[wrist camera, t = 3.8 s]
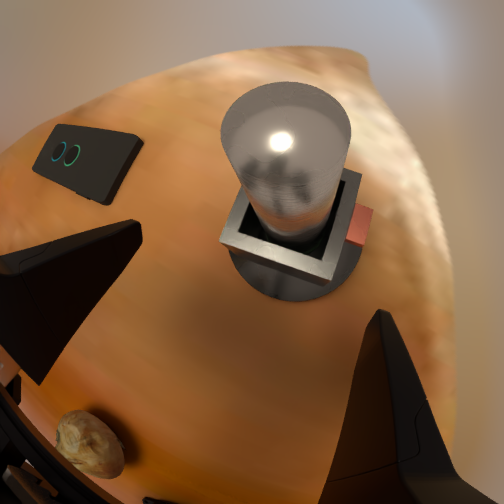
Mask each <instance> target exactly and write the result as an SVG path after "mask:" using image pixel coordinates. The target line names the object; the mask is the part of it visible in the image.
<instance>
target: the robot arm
mask: <svg viewBox="0 0 504 504" xmlns="http://www.w3.org/2000/svg"><path fill="white" fill-rule="evenodd" d="M142 242H143V237H142V229H141V224H140V222H138V221H136V220H133V219H129V220H125V221H121V222H118V223H114V224H110V225H106V226H102V227H99V228H95V229H92V230H88V231H84V232H81V233H77V234H74V235H71V236H67V237H64V238H61V239H57V240H54V241H53V242H52V241H51V242H48V243H44V244H41V245H38V246H35V247H31V248H27V249H24V250H20V251H16V252H13V253H9V254H5V255H1V256H0V504H124V503H122V502H121V501H119V500H118V499H116V498H115V497H113V496H112V495H110V494H109V493H108V492H106V491H105V490H104V489H102V488H101V487H99V486H98V485H97V484H96V483H94V482H93V481H92V480H90V479H89V478H88V477H87V476H86V475H84V474H83V473H82V472H81V471H80V470H78V469H77V468H76V467H75V466H74V465H73V464H72V463H70V462H69V461H68V460H67V459H66V458H65V457H64V456H63V455H62V454H61V453H60V452H59V451H58V450H57V449H56V448H55V447H54V446H53V445H52V444H51V443H50V442H49V441H48V440H47V439H46V438H45V437H44V436H43V435H42V434H41V433H40V432H39V431H38V430H37V428H36V427H35V426H34V425H33V424H32V423H31V421H30V420H29V419H28V418H27V417H26V416H25V414H24V413H23V412H22V411H21V409H20V408H19V407H18V405H19V404H20V402H21V377H20V375H19V374H18V372H19V371H20V370H21V369H22V370H23V371H24V372H25V373H26V374H27V375H28V376H29V377H30V378H31V379H32V380H33V381H34V382H35V383H36V384H37V385H38V386H40V384H41V383H42V382H43V380H44V378H45V377H46V375H47V374H48V372H49V371H50V369H51V368H52V366H53V364H54V363H55V361H56V360H57V358H58V357H59V355H60V354H61V353H62V351H63V350H64V348H65V346H66V345H67V344H68V342H69V341H70V339H71V338H72V336H73V335H74V334H75V332H76V331H77V330H78V328H79V327H80V325H81V324H82V323H83V321H84V320H85V319H86V317H87V316H88V315H89V313H90V312H91V311H92V309H93V308H94V307H95V306H96V304H97V303H98V302H99V300H100V299H101V298H102V297H103V295H104V294H105V293H106V292H107V290H108V289H109V288H110V287H111V285H112V284H113V283H114V282H115V281H116V279H117V278H118V277H119V276H120V274H121V273H122V272H123V270H124V269H125V267H126V266H127V265H128V263H129V262H130V260H131V259H132V257H133V256H134V255H135V253H136V252H137V250H138V249H139V248H140V246H141V244H142ZM426 398H427V397H426V395H425V392H424V389H423V387H422V384H421V382H420V379H419V376H418V374H417V372H416V369H415V367H414V364H413V362H412V360H411V357H410V355H409V353H408V350H407V348H406V346H405V343H404V341H403V339H402V337H401V335H400V332H399V330H398V328H397V326H396V324H395V322H394V320H393V318H392V316H391V314H390V312H388V311H385V310H382V309H378V310H377V311H376V312H375V314H374V316H373V317H372V319H371V320H370V322H369V323H368V325H367V327H366V330H365V333H364V337H363V341H362V345H361V349H360V352H359V356H358V359H357V363H356V366H355V370H354V375H353V380H352V385H351V390H350V395H349V400H348V404H347V409H346V413H345V418H344V422H343V426H342V430H341V433H340V437H339V441H338V445H337V448H336V452H335V455H334V458H333V462H332V465H331V468H330V471H329V474H328V477H327V480H326V483H325V485H324V488H323V491H322V494H321V496H320V499H319V502H318V504H498V503H496V502H495V501H493V500H491V499H490V498H488V497H487V496H485V495H484V494H482V493H481V492H479V491H478V490H477V489H475V488H474V487H472V486H471V485H469V484H468V483H467V482H465V481H464V480H462V478H460V476H459V475H458V474H457V472H456V471H455V469H454V467H453V464H452V462H451V459H450V456H449V454H448V451H447V449H446V446H445V444H444V442H443V439H442V437H441V434H440V432H439V429H438V427H437V424H436V422H435V419H434V416H433V414H432V411H431V408H430V405H429V403H428V400H426ZM26 459H27V460H28V461H29V462H30V464H31V465H32V466H33V467H32V466H31V465H30V464H28V463H27V462H25V460H26ZM142 501H143V504H168V503H164V502H161V501H157V500H154V499H150V498H147V497H144V498H143V499H142Z"/></svg>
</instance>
